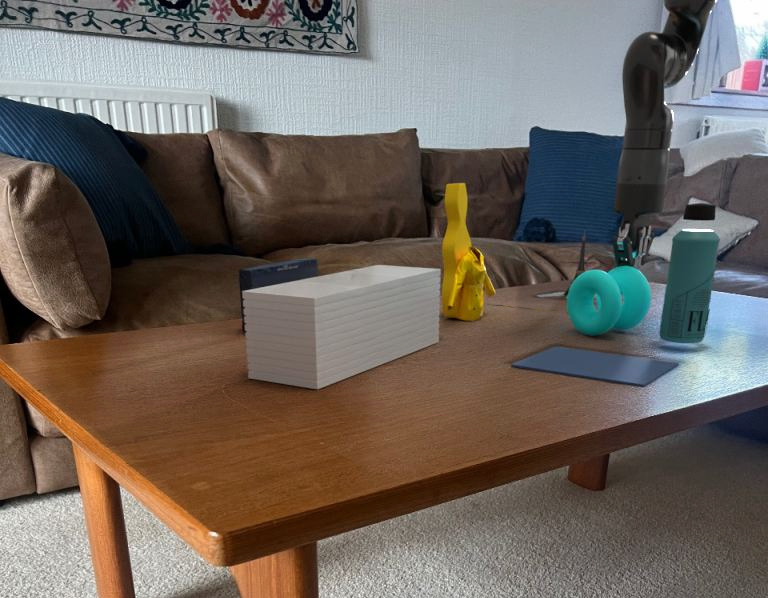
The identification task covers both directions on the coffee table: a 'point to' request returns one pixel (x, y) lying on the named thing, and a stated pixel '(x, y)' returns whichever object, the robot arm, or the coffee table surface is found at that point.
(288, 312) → the stack of papers
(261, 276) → the vhs cassette tape
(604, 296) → the donuts
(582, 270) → the eiffel tower figurine
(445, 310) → the figure statuette
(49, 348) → the coffee table surface
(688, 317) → the beverage bottle
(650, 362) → the felt mat
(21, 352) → the coffee table surface
